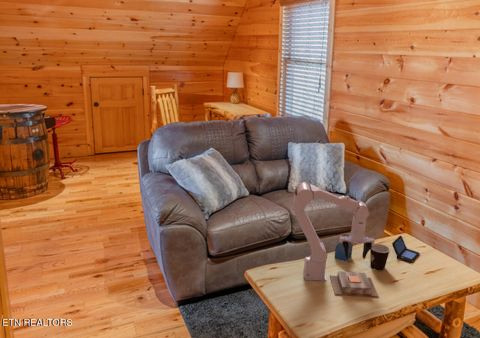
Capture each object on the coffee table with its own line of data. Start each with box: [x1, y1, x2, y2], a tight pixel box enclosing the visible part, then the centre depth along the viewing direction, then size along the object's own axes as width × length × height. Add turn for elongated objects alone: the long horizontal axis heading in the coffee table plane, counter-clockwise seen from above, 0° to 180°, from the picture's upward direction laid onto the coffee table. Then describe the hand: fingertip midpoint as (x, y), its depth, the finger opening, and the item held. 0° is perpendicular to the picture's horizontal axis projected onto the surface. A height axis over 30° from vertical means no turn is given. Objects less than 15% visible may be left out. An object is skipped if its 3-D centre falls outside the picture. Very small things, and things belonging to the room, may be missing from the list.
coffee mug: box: [369, 243, 391, 272], centre depth 193 cm, size 12×9×10 cm
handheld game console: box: [391, 235, 421, 264], centre depth 203 cm, size 12×11×7 cm
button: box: [348, 276, 360, 283], centre depth 176 cm, size 4×4×3 cm
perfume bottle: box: [334, 233, 353, 263], centre depth 199 cm, size 6×6×12 cm
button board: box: [329, 271, 380, 298], centre depth 176 cm, size 18×14×4 cm
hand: (354, 257), depth 180 cm, fingers open, 7 cm apart
